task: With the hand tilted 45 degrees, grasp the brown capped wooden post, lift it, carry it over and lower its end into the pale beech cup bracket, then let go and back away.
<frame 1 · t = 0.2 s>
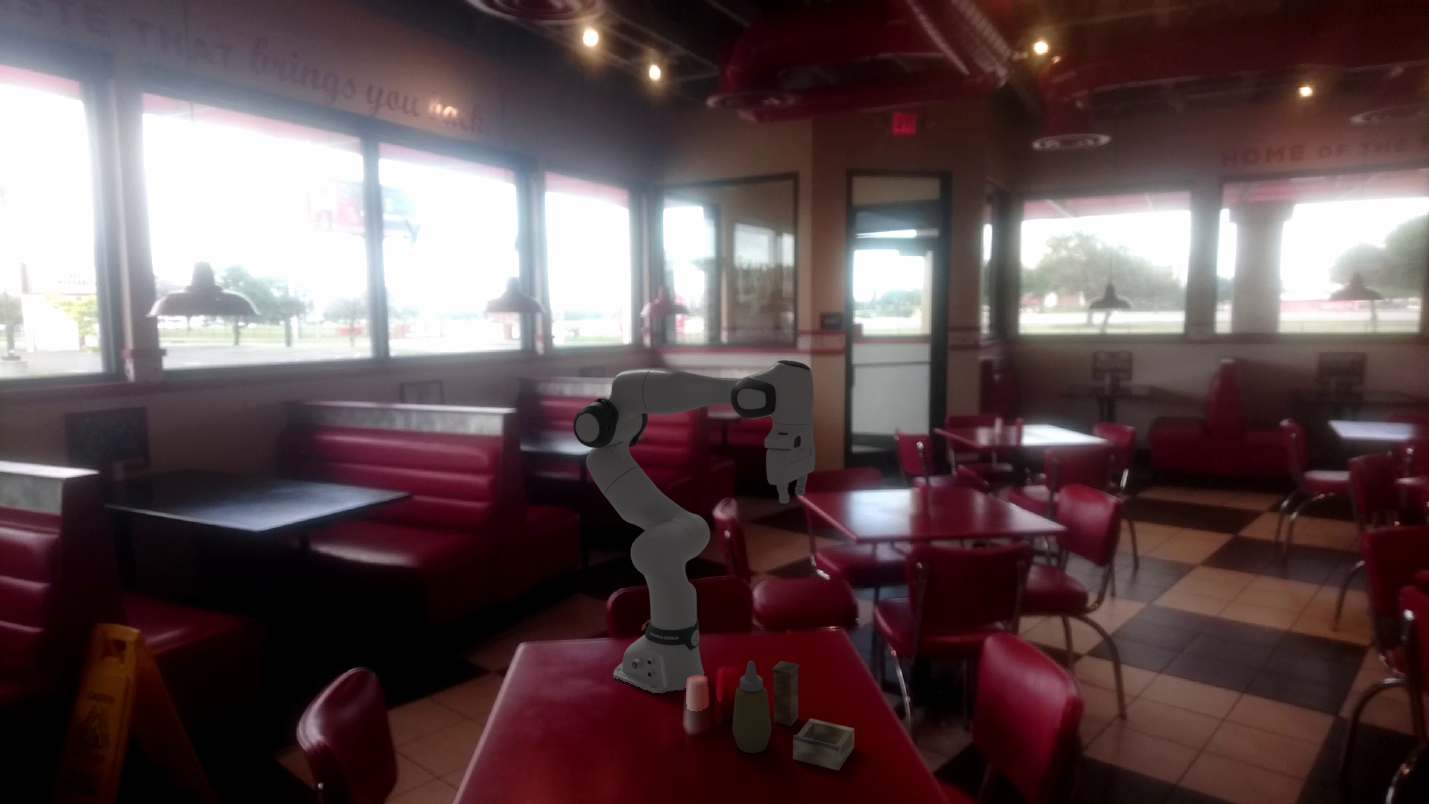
hand: (792, 498, 178), 47 cm above the table, tool pointing down, fingers open, 8 cm apart
cup bracket: (824, 753, 163), on the table
squeeze bottle: (752, 747, 166), on the table
brown capped wooden post: (786, 719, 176), on the table
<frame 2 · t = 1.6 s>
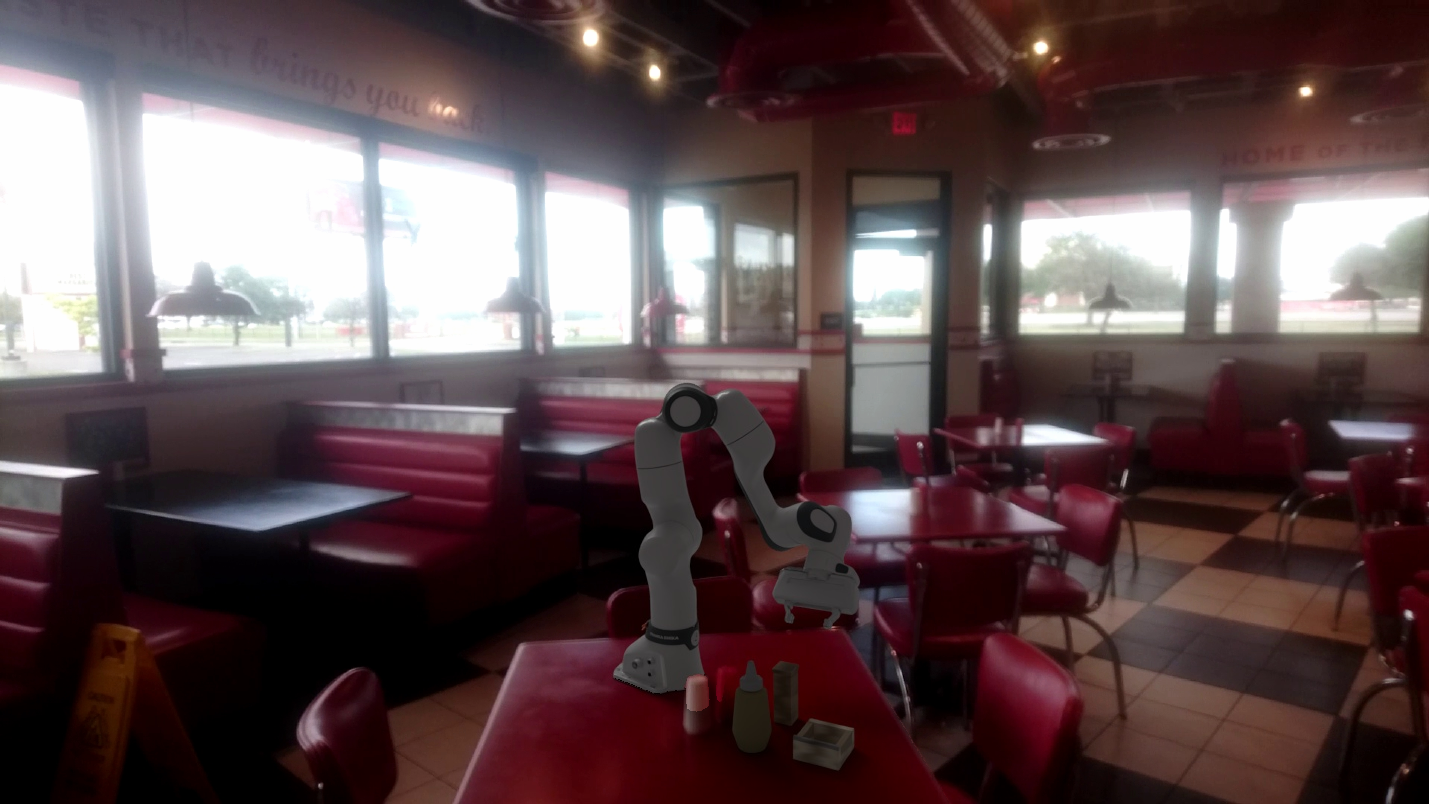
hand: (807, 625, 185), 17 cm above the table, tool tilted 45°, fingers open, 8 cm apart
nothing on the table moved.
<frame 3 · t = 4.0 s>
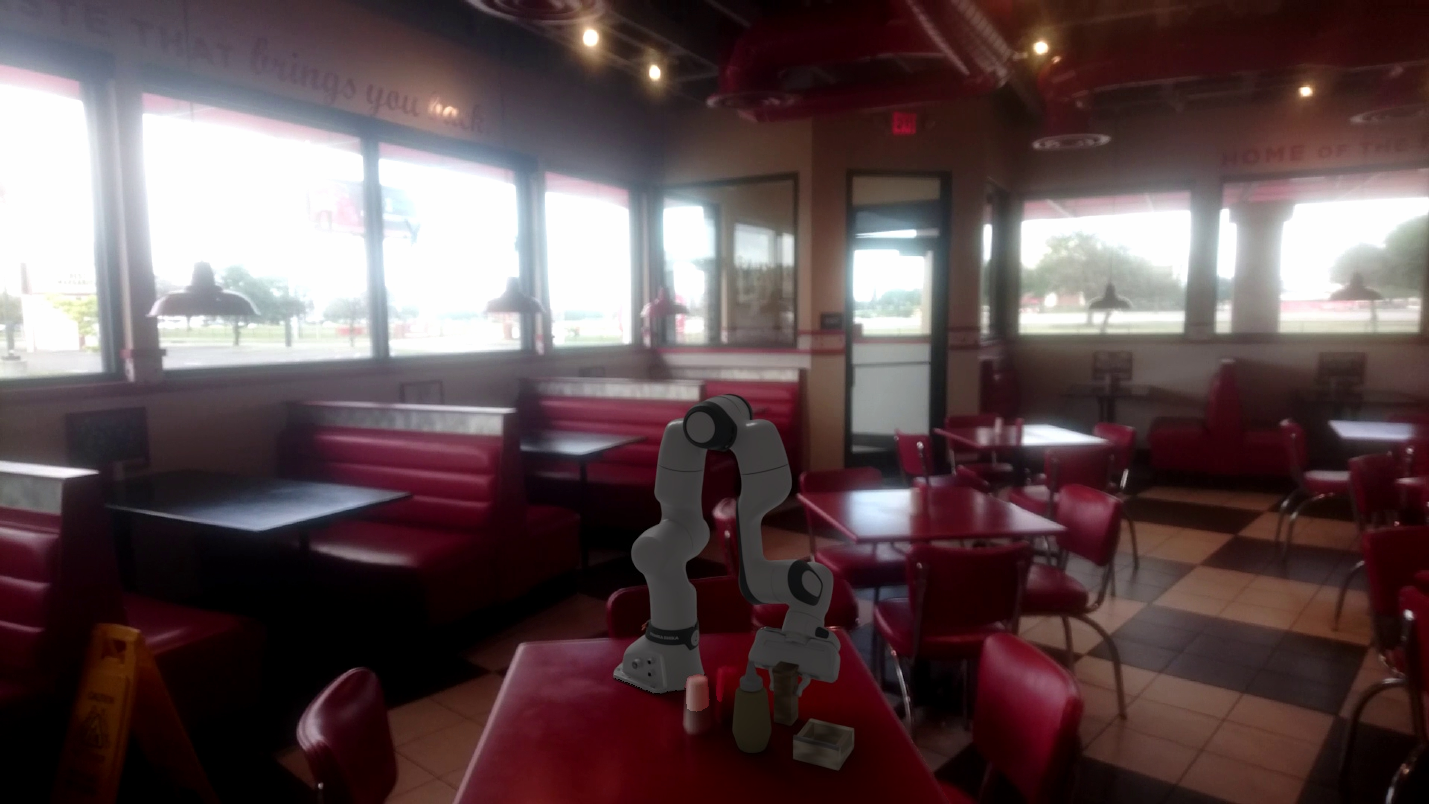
hand: (784, 692, 175), 6 cm above the table, tool tilted 45°, fingers closed on brown capped wooden post, 4 cm apart
brown capped wooden post: (786, 719, 176), on the table, touching gripper
everything else where it was.
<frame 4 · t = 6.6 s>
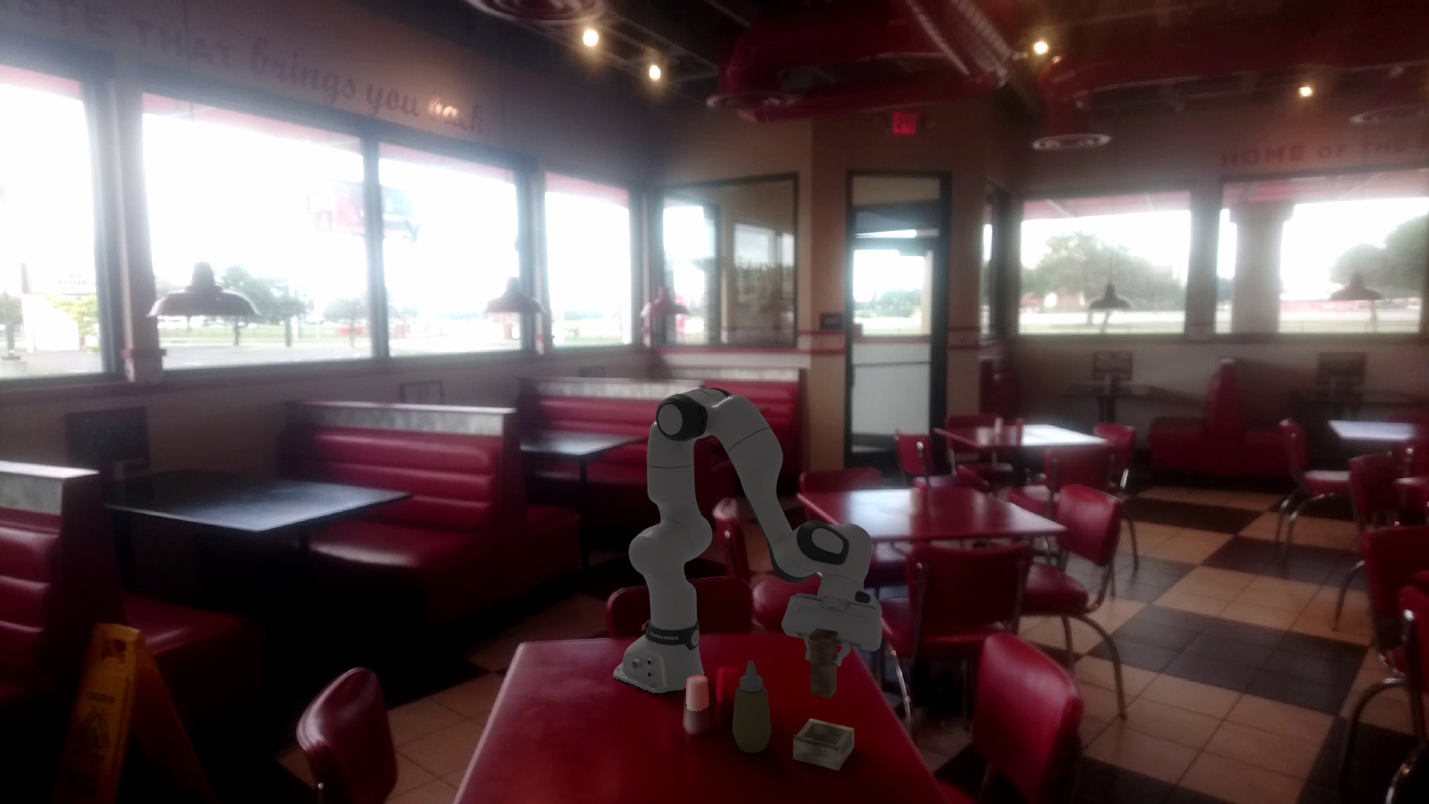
hand: (822, 662, 160), 19 cm above the table, tool tilted 45°, fingers closed on brown capped wooden post, 4 cm apart
brown capped wooden post: (823, 691, 162), point 13 cm above the table, touching gripper
everything else where it was.
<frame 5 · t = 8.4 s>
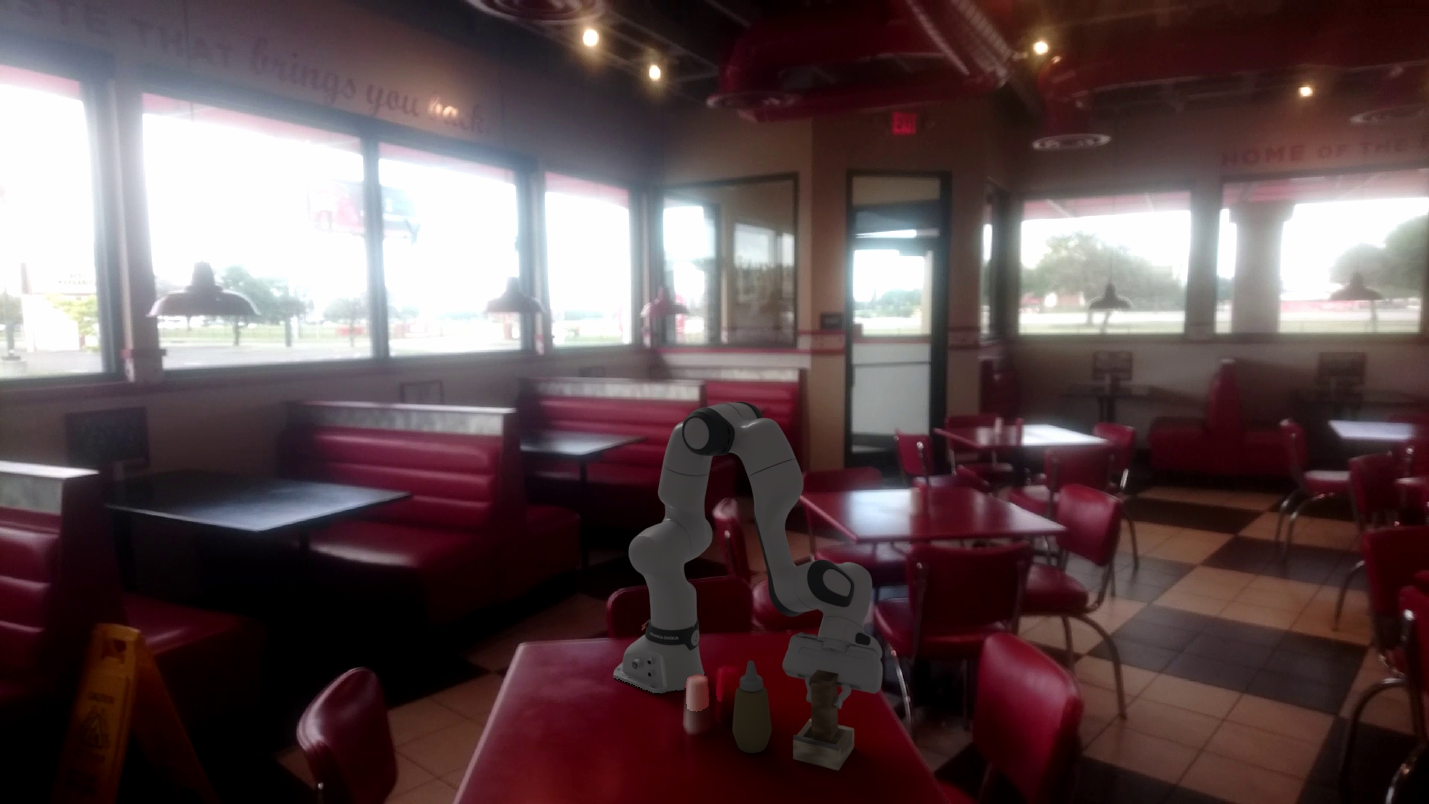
hand: (823, 704, 161), 10 cm above the table, tool tilted 45°, fingers closed on brown capped wooden post, 4 cm apart
brown capped wooden post: (824, 733, 162), point 4 cm above the table, touching gripper
everything else where it was.
when the fingers open (8 cm above the table, at t = 9.5 s): brown capped wooden post drops 1 cm, resting in cup bracket.
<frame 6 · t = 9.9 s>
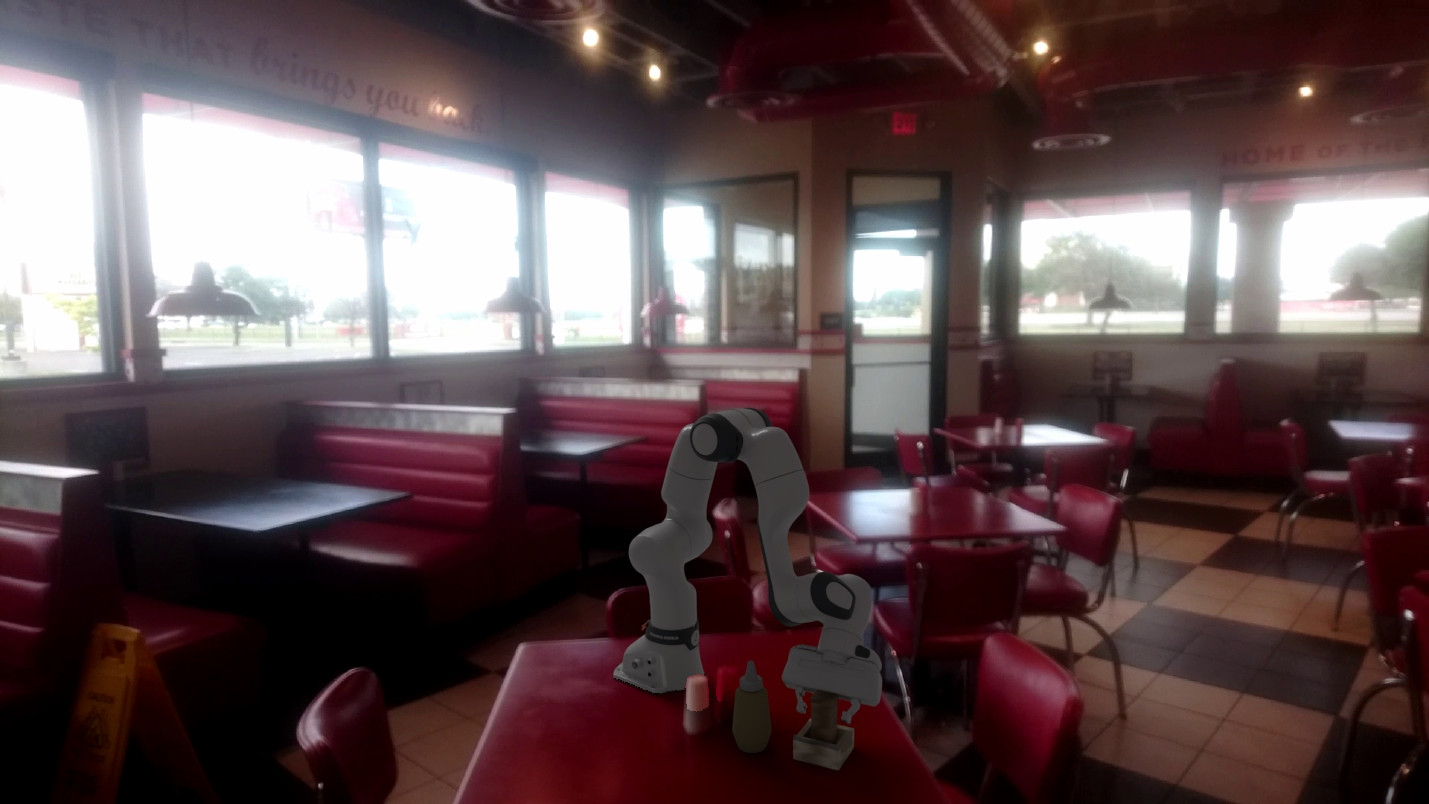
hand: (822, 717, 162), 8 cm above the table, tool tilted 45°, fingers open, 8 cm apart
brown capped wooden post: (823, 752, 163), resting in cup bracket
everything else where it was.
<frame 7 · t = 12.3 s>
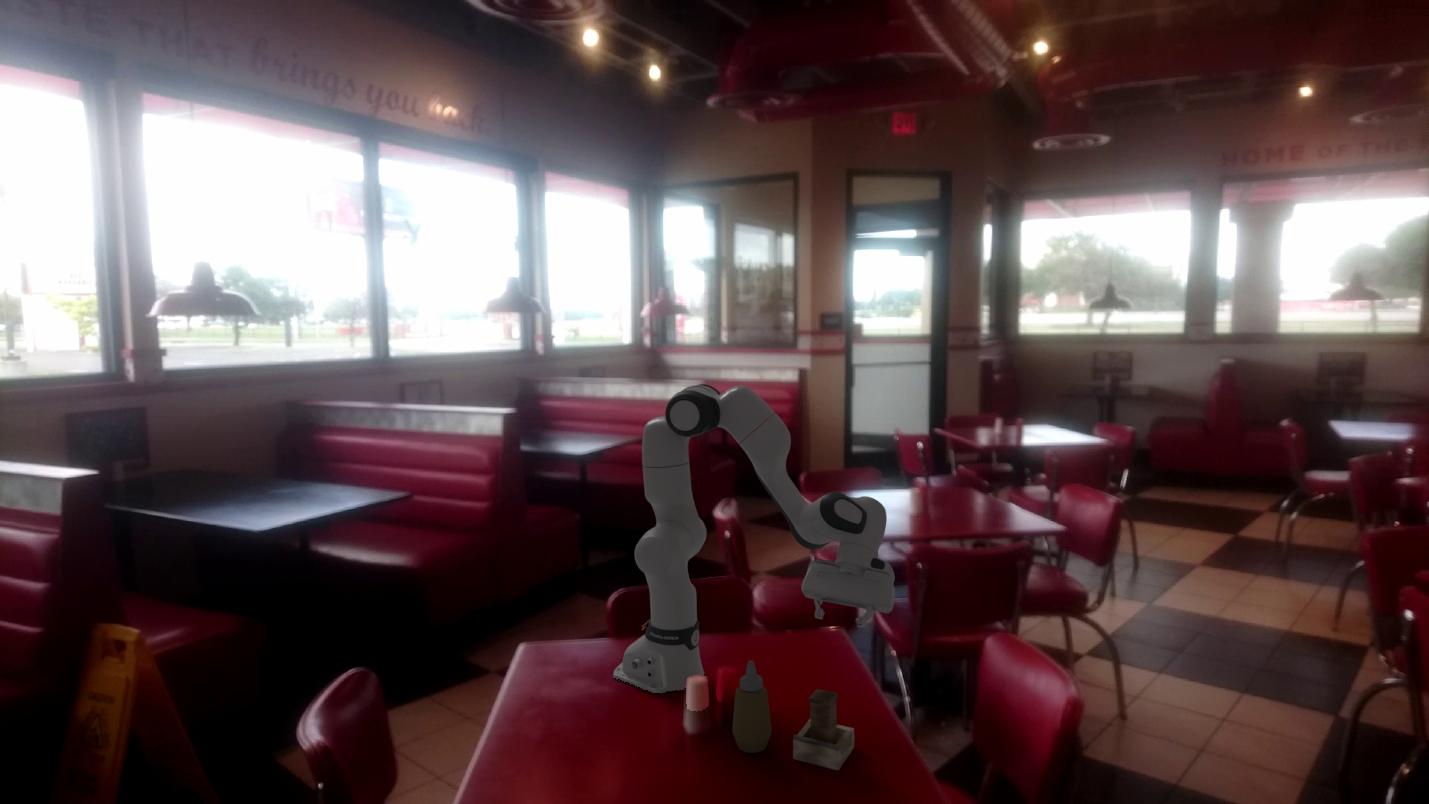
hand: (839, 622, 174), 22 cm above the table, tool tilted 45°, fingers open, 8 cm apart
nothing on the table moved.
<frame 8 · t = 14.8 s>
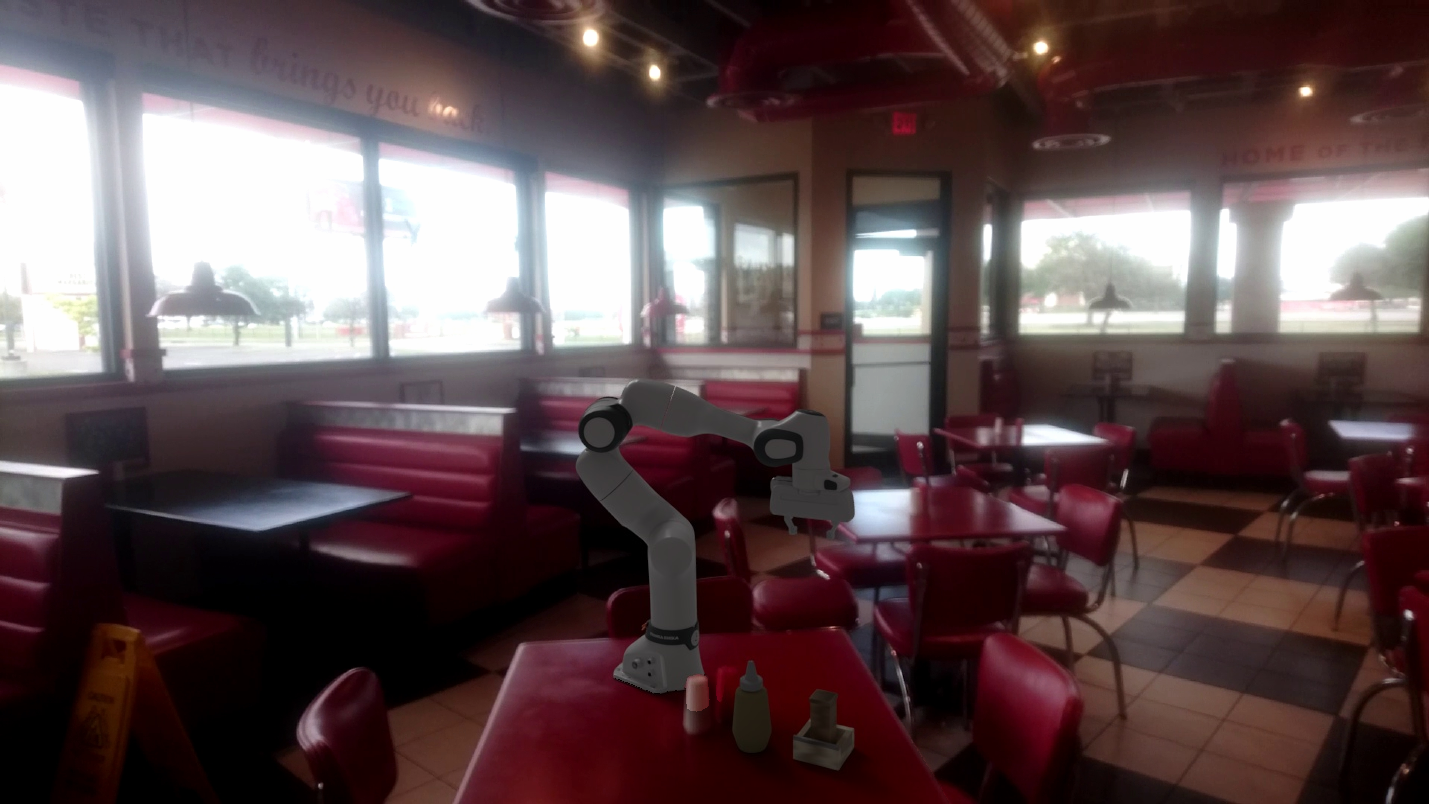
hand: (811, 536, 192), 35 cm above the table, tool pointing down, fingers open, 8 cm apart
nothing on the table moved.
at the end: brown capped wooden post 0.1 cm from the cup bracket (horizontally); brown capped wooden post resting in cup bracket; brown capped wooden post tilted 0° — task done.
